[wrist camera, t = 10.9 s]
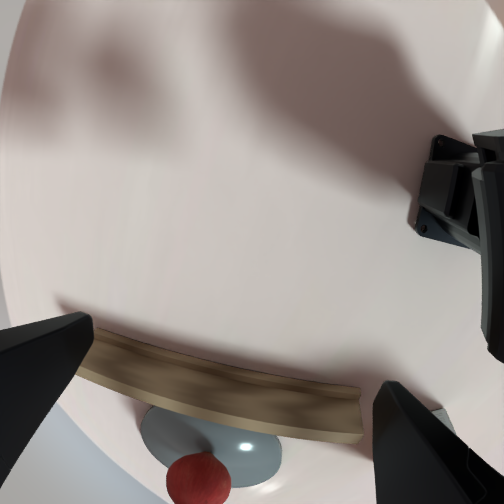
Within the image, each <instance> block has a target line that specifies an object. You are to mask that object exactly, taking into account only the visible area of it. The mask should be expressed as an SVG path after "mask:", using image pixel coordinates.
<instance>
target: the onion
mask: <svg viewBox="0 0 504 504" xmlns="http://www.w3.org/2000/svg"><path fill="white" fill-rule="evenodd" d="M166 487H167V491H168V494H169V496H170V497H171V499H172V500H173V502H174V503H175V504H223V503H224V502H225V501H226V499H227V498H228V496H229V493H230V490H231V476H230V474H229V472H228V470H227V468H226V467H225V466H224V464H223V463H222V462H220V461H219V460H218V459H217V458H216V457H215V456H214V455H213V454H212V453H211V452H207V451H204V452H200V453H195V454H190V455H185V456H183V457H181V458H179V459H178V460H176V461H175V462H173V463H172V465H171V466H170V467H169V469H168V472H167V475H166Z"/></svg>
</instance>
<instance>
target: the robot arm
mask: <svg viewBox="0 0 504 504" xmlns="http://www.w3.org/2000/svg"><path fill="white" fill-rule="evenodd" d="M472 136H473V141H474V145H475V146H476V147H477V148H475V147H472V146H470V145H467V144H465V143H462V142H460V141H457V140H455V139H452V138H449V137H447V136H444V135H436V136H434V138H433V140H432V146H431V152H430V158H429V161H428V162H426V163H425V168H424V173H423V178H422V183H421V188H420V193H419V198H418V202H419V204H420V208H419V212H418V216H417V220H416V224H415V231H416V233H417V234H418V235H420V236H422V237H426V238H430V239H434V240H438V241H442V242H445V243H449V244H453V245H457V246H461V247H464V248H468V249H472V250H474V251H475V252H477V253H478V254H480V255H481V266H482V316H481V329H482V332H483V334H484V337H485V339H486V341H487V343H488V346H487V349H488V351H489V352H490V353H491V354H492V355H493V356H494V357H495V358H496V359H497V360H499V361H500V362H502V363H504V129H500V130H494V131H488V132H482V133H476V134H472ZM439 139H440V140H441V141H442V146H439V144H438V140H439ZM422 225H425V230H424V231H421V226H422ZM93 341H94V331H93V321H92V317H91V316H90V315H89V314H86V313H84V312H75V313H71V314H67V315H63V316H59V317H55V318H50V319H46V320H42V321H38V322H33V323H29V324H25V325H21V326H16V327H12V328H8V329H3V330H0V488H1V486H2V484H3V483H4V481H5V479H6V478H7V476H8V475H9V473H10V471H11V469H12V468H13V466H14V464H15V463H16V461H17V460H18V458H19V456H20V455H21V453H22V452H23V450H24V449H25V447H26V446H27V444H28V442H29V441H30V439H31V438H32V436H33V435H34V433H35V432H36V430H37V429H38V427H39V426H40V424H41V423H42V421H43V420H44V418H45V417H46V415H47V414H48V412H49V411H50V410H51V408H52V407H53V405H54V404H55V402H56V401H57V400H58V398H59V397H60V395H61V394H62V393H63V391H64V390H65V388H66V387H67V386H68V384H69V383H70V381H71V380H72V378H73V377H74V375H75V373H76V372H77V370H78V368H79V366H80V365H81V363H82V361H83V359H84V358H85V356H86V354H87V353H88V351H89V349H90V347H91V346H92V344H93ZM372 448H373V462H374V473H375V486H376V502H377V504H504V476H503V475H501V474H500V473H499V472H497V471H496V470H495V469H494V468H492V467H491V466H490V465H489V464H487V463H486V462H485V461H484V460H483V459H482V458H481V457H479V456H478V455H477V454H476V453H475V452H474V451H473V450H472V449H471V448H469V447H468V446H467V445H466V444H465V443H464V442H463V441H462V440H461V439H460V438H459V437H458V436H457V435H456V434H454V433H453V432H452V431H451V430H450V429H449V428H448V427H447V426H446V425H445V424H444V423H443V422H441V421H440V420H439V419H438V418H437V417H436V416H435V415H434V414H433V413H432V412H431V411H430V410H428V409H427V408H426V407H425V406H424V405H423V404H422V403H421V402H420V401H419V400H418V399H416V398H415V397H414V396H413V395H412V394H411V393H410V392H409V391H408V390H407V389H406V388H405V387H403V386H402V385H401V384H400V383H399V382H397V381H389V380H386V381H384V383H383V384H382V386H381V388H380V390H379V392H378V394H377V396H376V398H375V400H374V402H373V441H372Z"/></svg>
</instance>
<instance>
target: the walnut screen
mask: <svg viewBox="0 0 504 504" xmlns="http://www.w3.org/2000/svg"><path fill="white" fill-rule="evenodd" d="M75 375H78V376H80V377H82V378H84V379H87V380H89V381H91V382H94V383H96V384H98V385H101V386H103V387H106V388H108V389H111V390H113V391H116V392H118V393H121V394H124V395H126V396H129V397H132V398H135V399H137V400H140V401H143V402H146V403H149V404H152V405H155V406H158V407H161V408H164V409H167V410H171V411H174V412H177V413H181V414H184V415H188V416H191V417H195V418H199V419H202V420H206V421H210V422H214V423H218V424H222V425H227V426H231V427H236V428H240V429H245V430H250V431H255V432H260V433H266V434H271V435H277V436H284V437H290V438H297V439H305V440H313V441H322V442H332V443H344V444H359V442H360V440H361V439H362V437H363V435H364V430H363V424H362V417H361V411H360V406H359V398H360V396H361V391H360V388H355V387H347V386H339V385H331V384H324V383H317V382H311V381H304V380H298V379H292V378H287V377H281V376H276V375H270V374H265V373H260V372H255V371H250V370H246V369H241V368H236V367H232V366H227V365H223V364H219V363H215V362H211V361H207V360H203V359H199V358H195V357H191V356H187V355H183V354H180V353H176V352H173V351H169V350H165V349H162V348H159V347H155V346H152V345H149V344H145V343H142V342H139V341H136V340H133V339H129V338H126V337H123V336H120V335H117V334H114V333H111V332H108V331H106V330H103V329H100V328H97V329H95V330H94V341H93V344H92V346H91V347H90V349H89V351H88V353H87V354H86V356H85V358H84V359H83V361H82V363H81V365H80V366H79V368H78V370H77V372H76V373H75Z"/></svg>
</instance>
